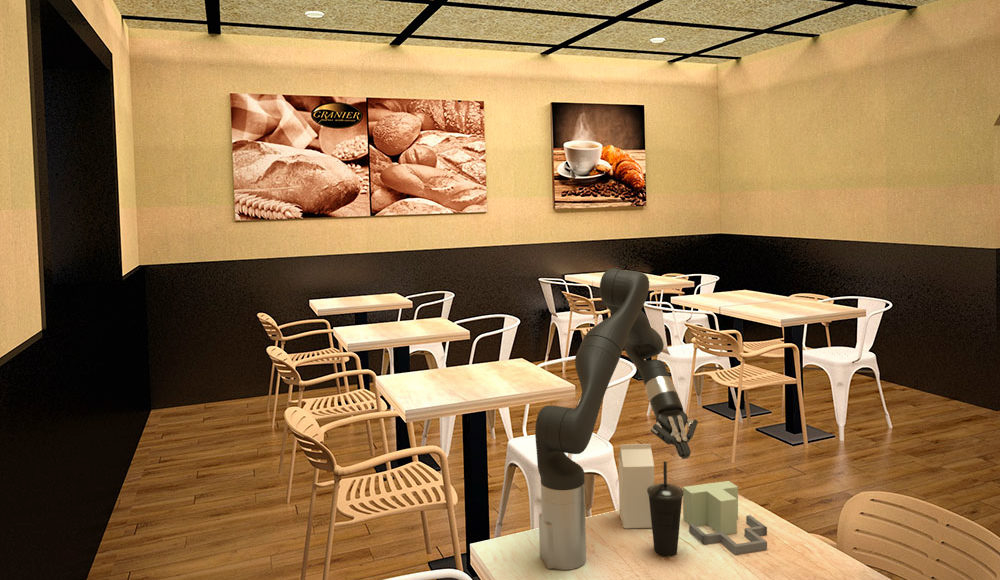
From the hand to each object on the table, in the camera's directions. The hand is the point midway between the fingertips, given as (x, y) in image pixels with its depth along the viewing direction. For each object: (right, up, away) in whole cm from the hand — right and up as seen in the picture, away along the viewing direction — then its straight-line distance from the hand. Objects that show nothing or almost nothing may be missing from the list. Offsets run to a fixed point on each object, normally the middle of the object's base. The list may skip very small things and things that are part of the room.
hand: (686, 457), depth 178 cm
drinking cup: (-11, -15, -24) cm, 30 cm away
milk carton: (-14, -13, -10) cm, 22 cm away
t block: (+4, -13, -13) cm, 18 cm away
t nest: (+6, -13, -19) cm, 24 cm away
